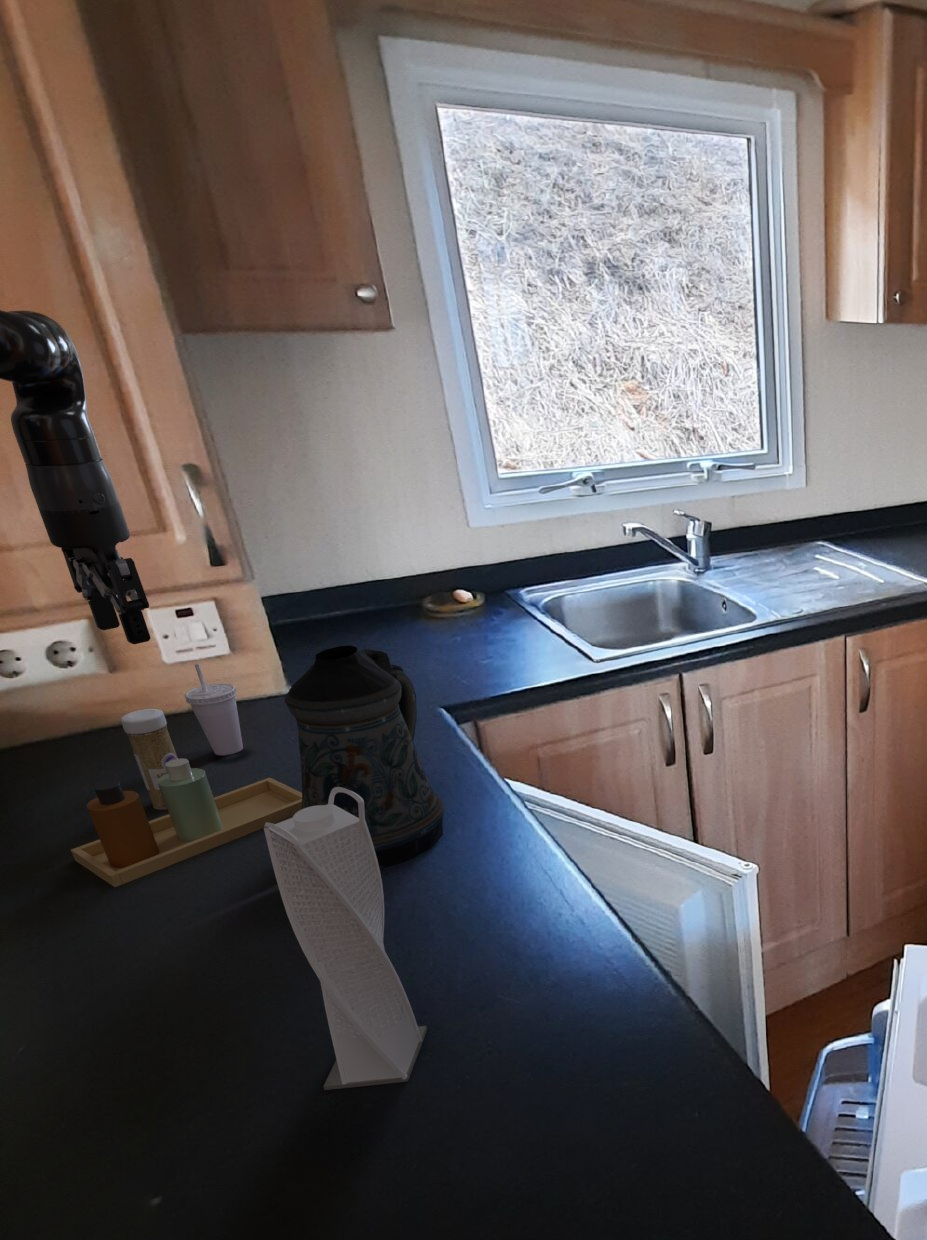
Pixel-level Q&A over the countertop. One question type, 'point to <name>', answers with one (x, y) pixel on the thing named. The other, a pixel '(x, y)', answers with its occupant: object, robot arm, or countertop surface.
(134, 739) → the sprinkles bottle
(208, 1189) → the countertop surface
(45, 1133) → the countertop surface
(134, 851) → the amber bottle
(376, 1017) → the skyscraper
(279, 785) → the tray
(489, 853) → the countertop surface
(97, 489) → the robot arm
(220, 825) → the sage bottle
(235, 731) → the smoothie
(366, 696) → the beer stein
